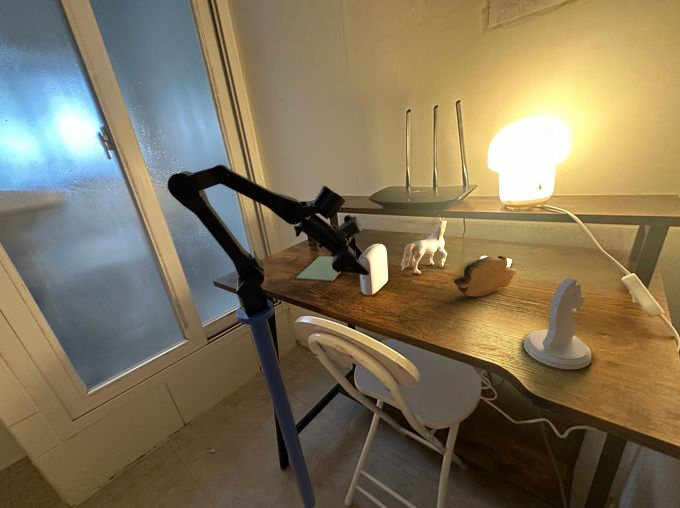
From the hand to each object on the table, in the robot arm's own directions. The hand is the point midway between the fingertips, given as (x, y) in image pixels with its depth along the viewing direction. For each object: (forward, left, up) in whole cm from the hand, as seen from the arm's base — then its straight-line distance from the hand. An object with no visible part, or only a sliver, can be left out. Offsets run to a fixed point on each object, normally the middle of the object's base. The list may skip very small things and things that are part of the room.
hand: (367, 266), depth 83 cm
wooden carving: (+16, -24, -7) cm, 30 cm away
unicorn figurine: (+21, -2, -7) cm, 23 cm away
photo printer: (+1, -1, -7) cm, 7 cm away
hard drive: (+29, -19, -7) cm, 36 cm away
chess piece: (+5, -44, -7) cm, 45 cm away
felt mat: (0, +22, -7) cm, 23 cm away
